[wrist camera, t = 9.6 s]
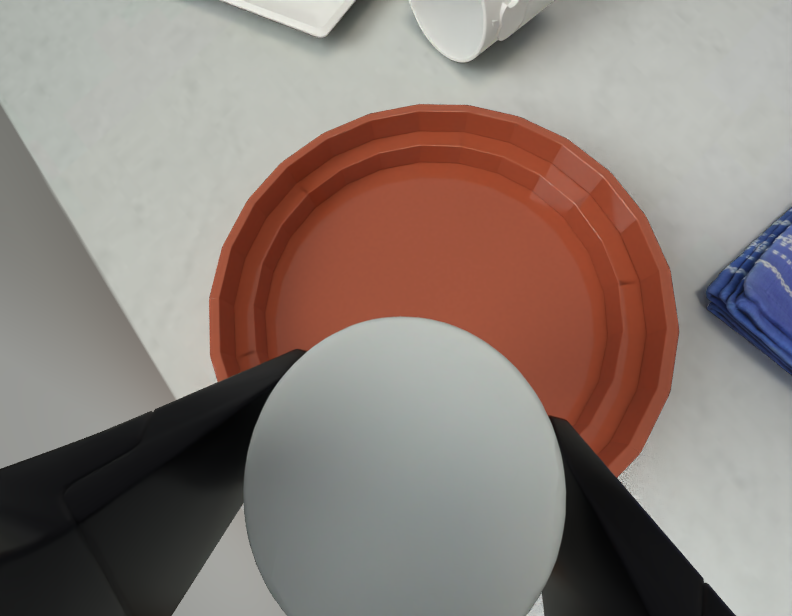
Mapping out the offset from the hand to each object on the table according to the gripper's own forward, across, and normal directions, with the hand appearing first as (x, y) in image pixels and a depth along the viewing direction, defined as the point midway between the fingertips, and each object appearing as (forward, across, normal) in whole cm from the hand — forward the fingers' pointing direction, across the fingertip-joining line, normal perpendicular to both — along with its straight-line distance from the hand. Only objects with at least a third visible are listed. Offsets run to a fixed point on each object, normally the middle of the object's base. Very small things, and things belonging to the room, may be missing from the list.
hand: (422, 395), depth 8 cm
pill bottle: (+4, 0, +6) cm, 7 cm away
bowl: (+14, +1, +5) cm, 15 cm away
